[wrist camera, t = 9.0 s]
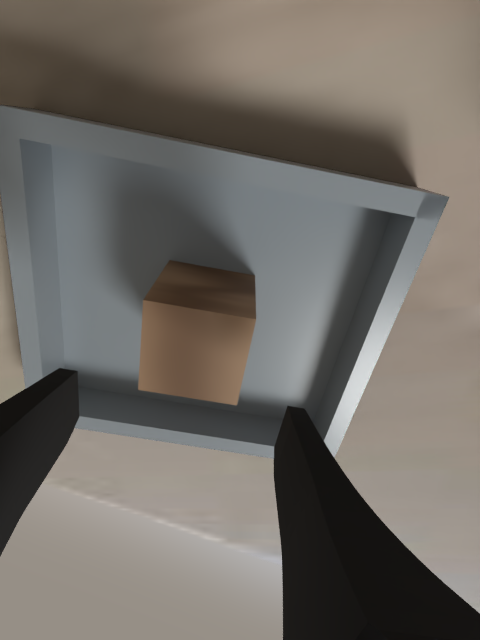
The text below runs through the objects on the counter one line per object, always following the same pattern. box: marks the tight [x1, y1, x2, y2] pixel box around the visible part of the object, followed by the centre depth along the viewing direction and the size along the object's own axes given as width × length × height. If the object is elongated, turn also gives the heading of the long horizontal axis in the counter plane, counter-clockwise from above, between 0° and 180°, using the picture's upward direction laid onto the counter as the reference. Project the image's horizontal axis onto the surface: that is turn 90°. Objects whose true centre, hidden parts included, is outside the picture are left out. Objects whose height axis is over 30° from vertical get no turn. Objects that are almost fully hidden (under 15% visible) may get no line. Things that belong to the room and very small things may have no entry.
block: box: [138, 260, 256, 405], centre depth 17 cm, size 4×4×5 cm
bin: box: [0, 105, 449, 459], centre depth 19 cm, size 18×16×3 cm
